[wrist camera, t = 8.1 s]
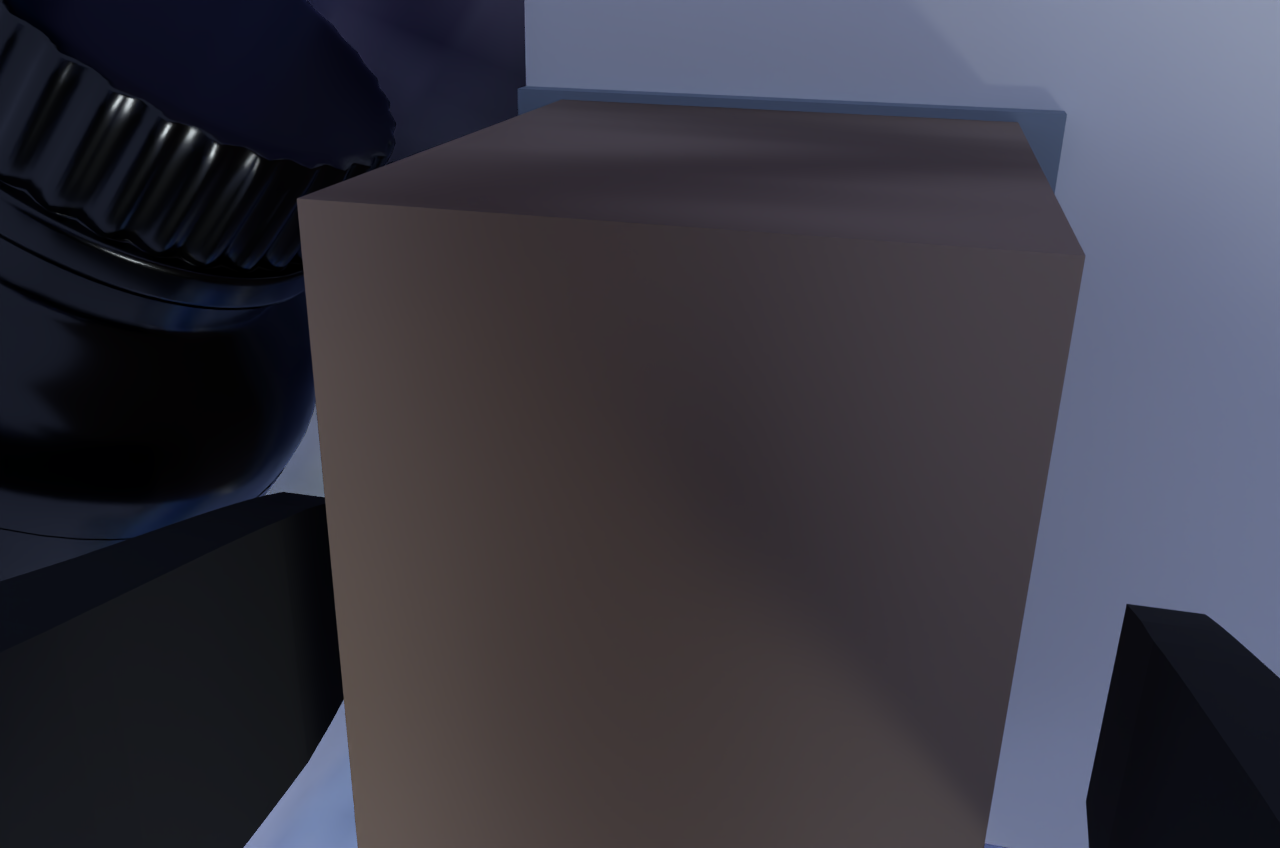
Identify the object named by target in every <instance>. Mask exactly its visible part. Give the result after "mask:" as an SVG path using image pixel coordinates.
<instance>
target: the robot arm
mask: <svg viewBox="0 0 1280 848" xmlns="http://www.w3.org/2000/svg"><path fill="white" fill-rule="evenodd" d="M343 700H344V695H343V684H342V674H341V663H340V653H339V642H338V631H337V621H336V610H335V600H334V589H333V578H332V568H331V557H330V546H329V536H328V525H327V515H326V504H325V498H324V497H317V496H309V495H302V494H294V493H286V492H281V493H276V494H271V495H266V496H261V497H257V498H253V499H249V500H246V501H242V502H239V503H235V504H232V505H228V506H225V507H222V508H219V509H216V510H213V511H210V512H206V513H203V514H200V515H197V516H194V517H191V518H188V519H185V520H183V521H180V522H177V523H174V524H171V525H168V526H165V527H162V528H159V529H156V530H154V531H151V532H148V533H145V534H142V535H139V536H136V537H133V538H130V539H128V540H125V541H122V542H119V543H116V544H113V545H110V546H107V547H104V548H102V549H99V550H96V551H93V552H90V553H87V554H84V555H81V556H78V557H75V558H72V559H69V560H66V561H63V562H60V563H57V564H54V565H50V566H47V567H44V568H41V569H38V570H35V571H31V572H28V573H25V574H22V575H19V576H16V577H13V578H9V579H6V580H3V581H0V848H243V847H244V846H245V845H246V843H247V842H248V841H249V840H250V838H251V837H252V836H253V834H254V833H255V832H256V831H257V829H258V828H259V827H260V825H261V824H262V823H263V821H264V820H265V819H266V817H267V816H268V815H269V814H270V812H271V811H272V810H273V808H274V807H275V806H276V804H277V803H278V802H279V800H280V799H281V798H282V796H283V795H284V794H285V792H286V791H287V790H288V788H289V787H290V786H291V785H292V783H293V782H294V780H295V779H296V778H297V776H298V775H299V774H300V772H301V771H302V770H303V768H304V767H305V766H306V764H307V763H308V761H309V760H310V758H311V756H312V754H313V753H314V751H315V749H316V748H317V746H318V744H319V743H320V741H321V739H322V737H323V736H324V734H325V732H326V731H327V729H328V727H329V726H330V724H331V722H332V720H333V718H334V716H335V714H336V713H337V711H338V709H339V707H340V705H341V703H342V701H343ZM1086 812H1087V826H1088V840H1089V848H1280V678H1279V677H1278V676H1277V675H1276V674H1275V673H1274V672H1272V671H1271V670H1270V669H1269V668H1268V667H1267V666H1266V665H1265V664H1264V663H1262V662H1261V661H1260V660H1259V659H1258V658H1257V657H1256V656H1255V655H1254V654H1252V653H1251V652H1250V651H1249V650H1248V649H1247V648H1246V647H1245V646H1243V645H1242V644H1241V643H1240V642H1239V641H1238V640H1237V639H1235V638H1234V637H1233V636H1232V635H1231V634H1230V633H1229V632H1227V631H1226V630H1225V629H1224V628H1223V627H1221V626H1220V625H1219V624H1218V623H1216V622H1215V621H1214V620H1212V619H1211V618H1210V617H1209V616H1207V615H1206V614H1200V613H1193V612H1185V611H1178V610H1170V609H1163V608H1155V607H1147V606H1140V605H1132V604H1126V609H1125V614H1124V619H1123V624H1122V629H1121V633H1120V638H1119V643H1118V648H1117V653H1116V658H1115V662H1114V667H1113V672H1112V677H1111V682H1110V686H1109V691H1108V696H1107V701H1106V706H1105V711H1104V715H1103V720H1102V725H1101V730H1100V735H1099V739H1098V744H1097V749H1096V754H1095V759H1094V764H1093V768H1092V773H1091V778H1090V783H1089V788H1088V793H1087V797H1086Z"/></svg>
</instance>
